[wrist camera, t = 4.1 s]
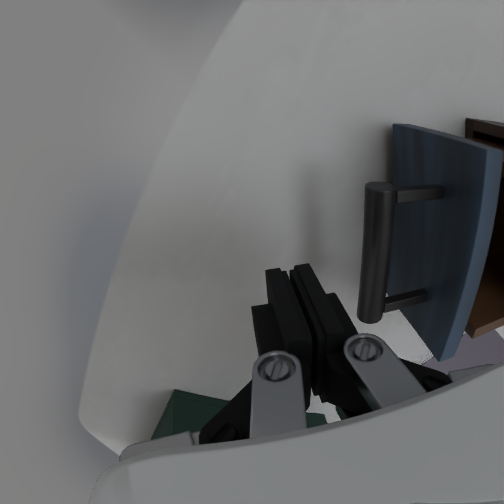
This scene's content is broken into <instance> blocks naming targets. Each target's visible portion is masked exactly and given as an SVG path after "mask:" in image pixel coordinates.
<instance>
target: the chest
mask: <svg viewBox="0 0 504 504" xmlns="http://www.w3.org/2000/svg"><path fill="white" fill-rule="evenodd" d="M229 402H230V401H224V400H219V399H214V398H210V397H205V396H200V395H196V394H191V393H187V392H183V391H179V390H174V392H173V394H172V396H171V398H170V400H169V402H168V404H167V406H166V408H165V410H164V413H163V415H162V417H161V419H160V421H159V423H158V425H157V427H156V429H155V432H154V434H153V436H152V438H151V440H154V439H158V438H163V437H167V436H171V435H175V434H179V433H183V432H186V431H190V433H194V432H198V431H201V429H202V428H203V427H204V425H205V424H206V423H207V422H208V421H209V420H211V419H212V418H213V417H214V416H215V415H216V414H217V413H218V412H219V411H220V410H221V409H222V408H223V407H224V406H225V405H226V404H228V403H229ZM306 420H307V428H311V427H316V426H320V425H324V424H327V421H326V418H325V415H324V414H313V413H306Z"/></svg>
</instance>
